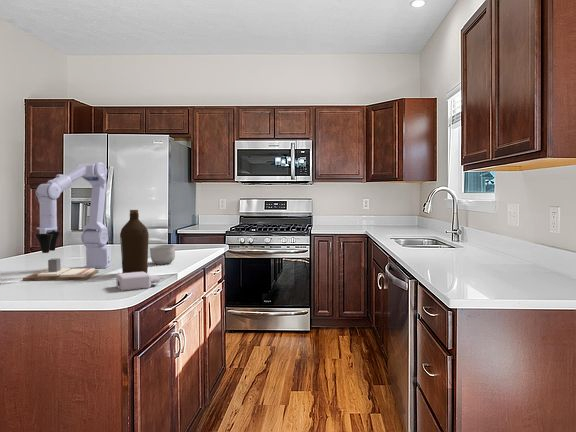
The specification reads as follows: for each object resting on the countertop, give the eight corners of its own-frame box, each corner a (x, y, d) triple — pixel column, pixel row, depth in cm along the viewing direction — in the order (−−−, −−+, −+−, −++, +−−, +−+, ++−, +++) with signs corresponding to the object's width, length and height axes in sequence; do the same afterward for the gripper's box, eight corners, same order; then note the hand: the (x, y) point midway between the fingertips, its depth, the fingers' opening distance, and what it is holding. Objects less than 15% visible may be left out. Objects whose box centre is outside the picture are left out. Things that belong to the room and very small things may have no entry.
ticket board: (98, 272, 196) (98, 269, 196) (85, 279, 180) (85, 277, 180) (40, 273, 194) (40, 270, 194) (22, 280, 178) (22, 278, 178)
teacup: (171, 265, 214) (171, 247, 213) (146, 265, 214) (146, 247, 214) (179, 260, 228) (179, 243, 227) (155, 260, 228) (155, 243, 227)
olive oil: (151, 271, 199) (151, 209, 197) (145, 275, 188) (144, 210, 187) (125, 271, 198) (124, 209, 197) (117, 276, 188) (115, 210, 186)
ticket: (94, 270, 195) (94, 268, 195) (83, 276, 181) (83, 274, 181) (71, 270, 194) (71, 268, 194) (58, 277, 180) (58, 274, 180)
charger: (167, 287, 168) (122, 291, 160) (159, 282, 176) (116, 286, 168) (167, 273, 168) (121, 277, 160) (159, 269, 176) (115, 273, 168)
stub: (70, 269, 194) (70, 256, 193) (57, 276, 180) (57, 261, 180) (51, 270, 193) (51, 256, 193) (37, 276, 179) (37, 262, 179)
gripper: (42, 214, 191) (43, 249, 192) (30, 216, 177) (30, 254, 178) (62, 214, 193) (62, 249, 193) (51, 216, 178) (51, 253, 179)
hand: (48, 251), depth 185 cm, fingers open, 7 cm apart
